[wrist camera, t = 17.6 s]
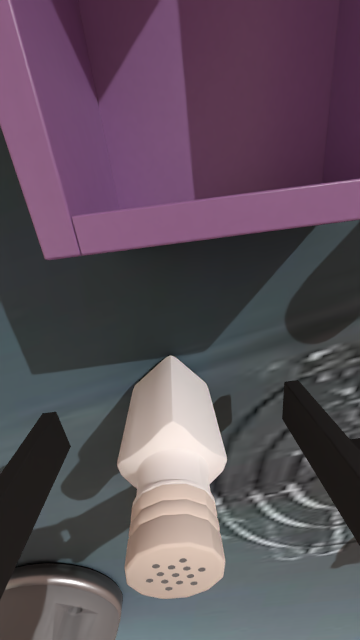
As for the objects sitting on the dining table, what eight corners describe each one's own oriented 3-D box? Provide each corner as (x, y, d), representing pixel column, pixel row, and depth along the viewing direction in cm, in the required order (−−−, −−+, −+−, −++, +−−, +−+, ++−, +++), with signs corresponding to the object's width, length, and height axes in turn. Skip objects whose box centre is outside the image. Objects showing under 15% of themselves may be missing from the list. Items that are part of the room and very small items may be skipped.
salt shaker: (130, 385, 16) (83, 581, 7) (170, 348, 15) (175, 519, 6) (170, 415, 17) (175, 616, 8) (210, 382, 16) (264, 568, 7)
